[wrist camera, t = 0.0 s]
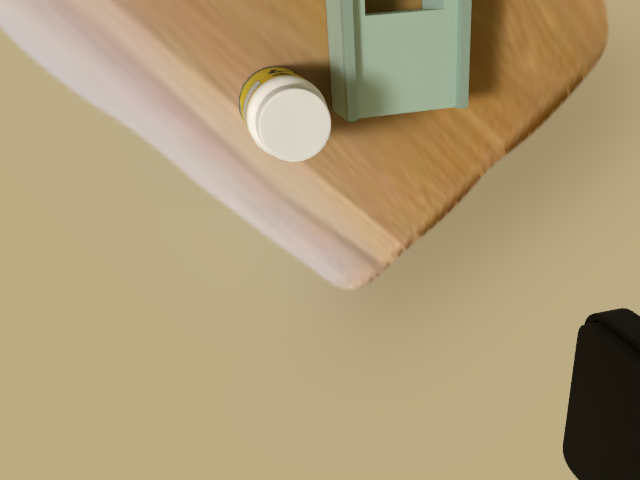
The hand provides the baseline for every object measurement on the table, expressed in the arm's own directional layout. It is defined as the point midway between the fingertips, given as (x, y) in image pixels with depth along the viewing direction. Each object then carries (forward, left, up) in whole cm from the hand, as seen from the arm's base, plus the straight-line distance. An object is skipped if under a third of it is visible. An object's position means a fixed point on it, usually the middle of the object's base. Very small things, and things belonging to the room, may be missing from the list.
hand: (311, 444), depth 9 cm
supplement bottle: (0, +4, -31) cm, 32 cm away
